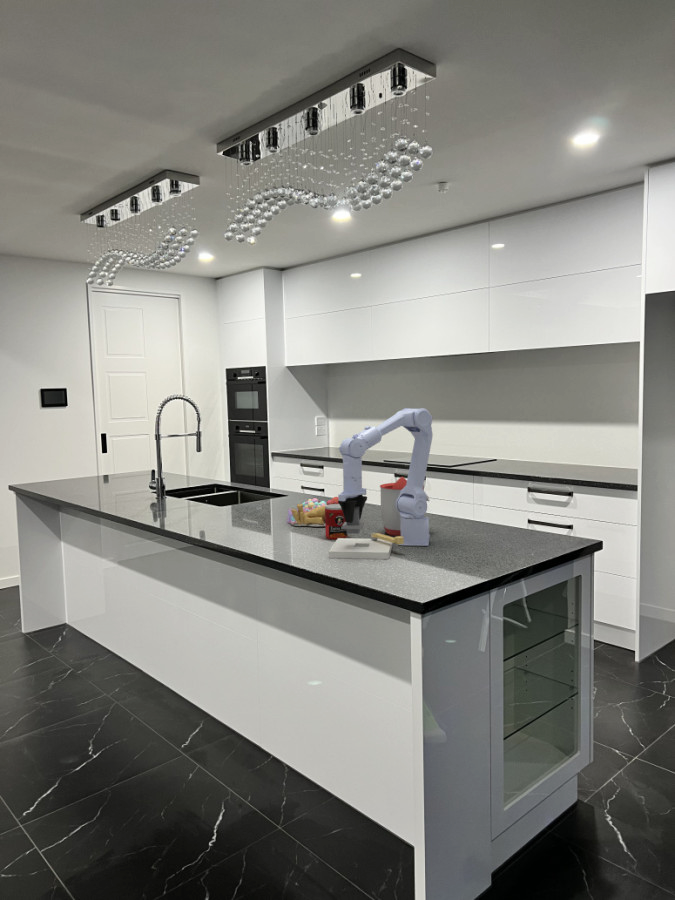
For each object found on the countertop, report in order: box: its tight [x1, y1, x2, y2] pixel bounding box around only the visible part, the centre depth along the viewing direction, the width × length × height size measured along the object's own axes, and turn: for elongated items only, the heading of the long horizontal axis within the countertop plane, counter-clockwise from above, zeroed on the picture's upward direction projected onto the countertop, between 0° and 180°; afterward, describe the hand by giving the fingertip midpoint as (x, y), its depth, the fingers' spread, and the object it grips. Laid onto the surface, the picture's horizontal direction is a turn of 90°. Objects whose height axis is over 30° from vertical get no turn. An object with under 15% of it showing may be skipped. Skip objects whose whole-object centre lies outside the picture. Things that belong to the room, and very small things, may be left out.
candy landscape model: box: [286, 496, 339, 527], centre depth 259 cm, size 25×24×9 cm
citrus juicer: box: [379, 476, 431, 537], centre depth 234 cm, size 16×17×20 cm
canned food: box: [324, 504, 349, 541], centre depth 230 cm, size 8×8×11 cm
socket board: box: [328, 537, 394, 560], centre depth 210 cm, size 18×18×2 cm
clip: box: [370, 532, 404, 546], centre depth 211 cm, size 2×15×3 cm, turn 33°
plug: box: [342, 507, 365, 535], centre depth 207 cm, size 6×6×8 cm
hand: (353, 520), depth 207 cm, fingers closed on plug, 5 cm apart
